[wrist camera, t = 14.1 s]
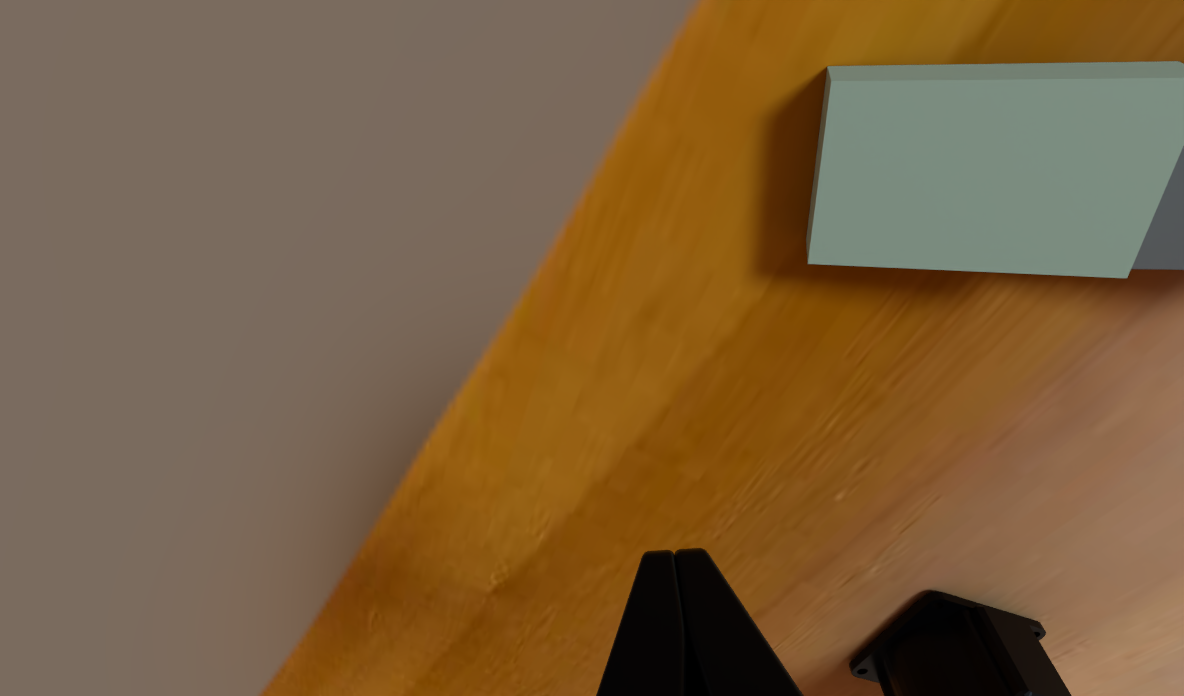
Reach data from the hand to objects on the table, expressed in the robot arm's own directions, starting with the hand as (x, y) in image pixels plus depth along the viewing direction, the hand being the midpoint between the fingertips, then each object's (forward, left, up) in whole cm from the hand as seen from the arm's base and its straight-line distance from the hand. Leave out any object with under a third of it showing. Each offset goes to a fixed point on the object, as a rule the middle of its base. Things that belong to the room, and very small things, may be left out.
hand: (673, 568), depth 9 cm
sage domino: (+3, -4, -12) cm, 13 cm away
